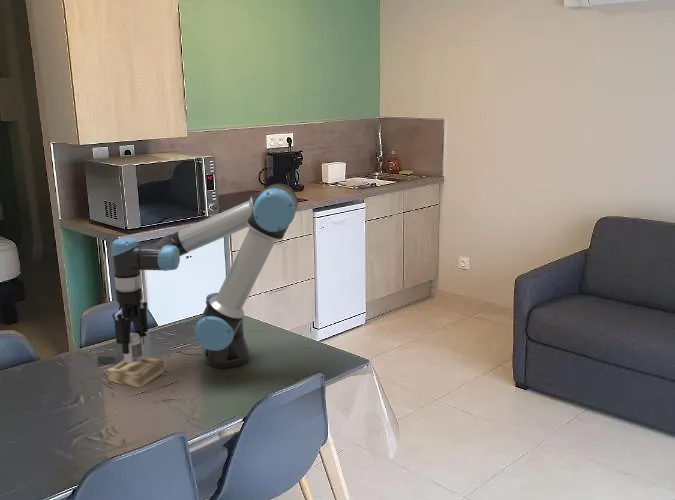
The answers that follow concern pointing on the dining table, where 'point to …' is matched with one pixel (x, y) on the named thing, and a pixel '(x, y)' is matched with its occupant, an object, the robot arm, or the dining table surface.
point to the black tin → (110, 357)
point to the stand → (135, 372)
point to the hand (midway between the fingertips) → (134, 358)
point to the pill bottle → (136, 347)
